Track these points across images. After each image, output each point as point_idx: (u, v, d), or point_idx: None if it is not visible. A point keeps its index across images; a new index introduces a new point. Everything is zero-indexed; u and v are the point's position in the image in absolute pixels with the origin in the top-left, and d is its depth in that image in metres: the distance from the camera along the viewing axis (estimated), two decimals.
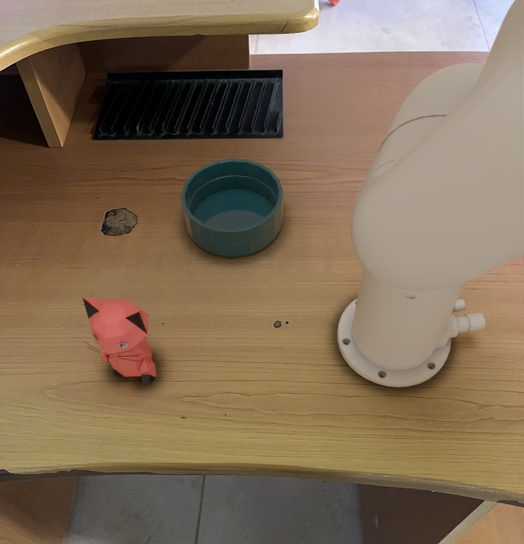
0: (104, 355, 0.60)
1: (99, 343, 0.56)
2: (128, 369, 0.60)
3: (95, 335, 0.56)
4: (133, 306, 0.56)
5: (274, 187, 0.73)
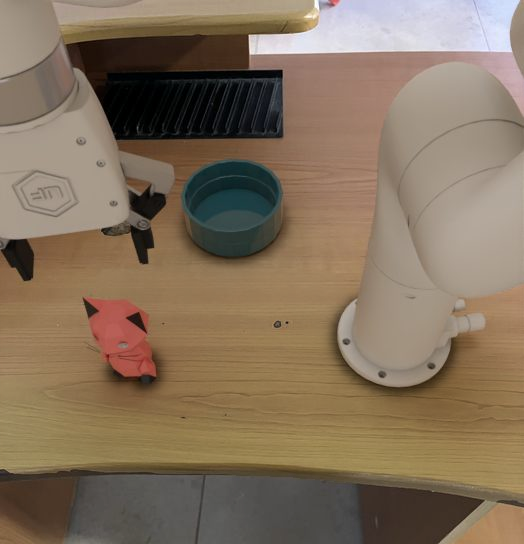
0: (104, 355, 0.60)
1: (99, 343, 0.56)
2: (128, 369, 0.60)
3: (95, 335, 0.56)
4: (133, 306, 0.56)
5: (274, 187, 0.73)
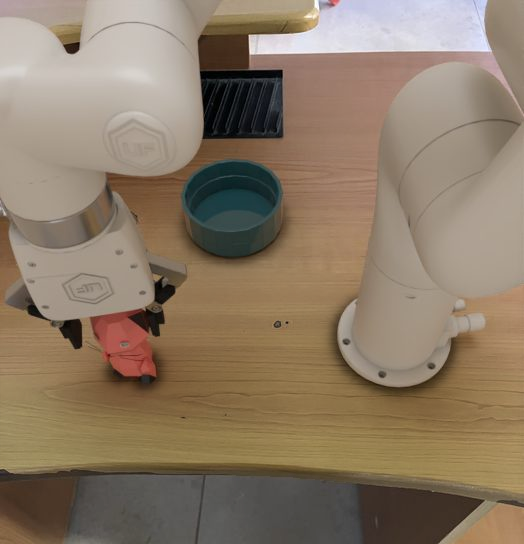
0: (104, 355, 0.60)
1: (100, 342, 0.56)
2: (128, 369, 0.60)
3: (96, 334, 0.56)
4: None
5: (274, 187, 0.73)
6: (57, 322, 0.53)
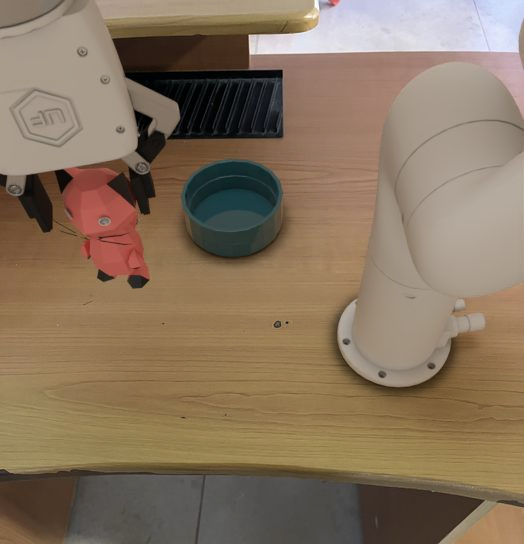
0: (84, 248, 0.49)
1: (75, 221, 0.44)
2: (113, 264, 0.48)
3: (69, 211, 0.44)
4: (117, 174, 0.44)
5: (274, 187, 0.73)
6: (15, 187, 0.41)
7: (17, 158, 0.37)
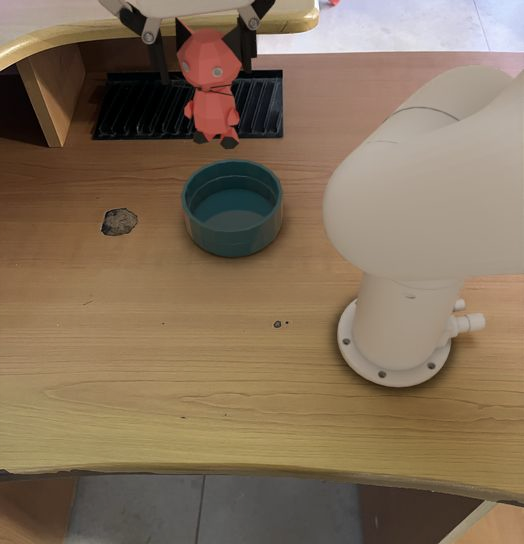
0: (188, 108, 0.57)
1: (190, 73, 0.52)
2: (214, 120, 0.56)
3: (186, 64, 0.52)
4: None
5: (274, 187, 0.73)
6: (149, 35, 0.49)
7: None
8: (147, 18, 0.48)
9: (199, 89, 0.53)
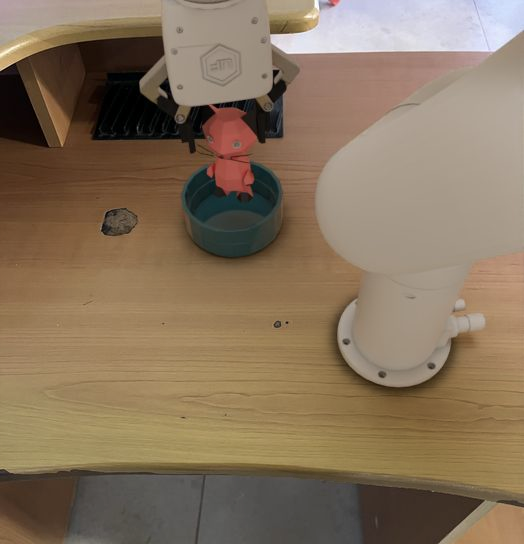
0: (210, 169, 0.67)
1: (214, 145, 0.62)
2: (233, 180, 0.66)
3: (210, 137, 0.62)
4: (244, 112, 0.62)
5: (274, 187, 0.73)
6: (180, 116, 0.59)
7: (194, 93, 0.55)
8: (180, 104, 0.58)
9: (221, 158, 0.62)
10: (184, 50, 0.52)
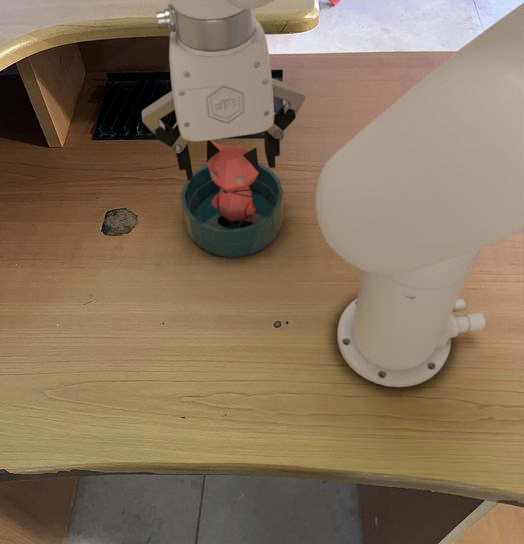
0: (215, 201, 0.71)
1: (218, 180, 0.66)
2: (236, 211, 0.70)
3: (215, 173, 0.66)
4: (246, 149, 0.66)
5: (274, 187, 0.73)
6: (178, 146, 0.62)
7: (200, 129, 0.59)
8: (180, 135, 0.61)
9: (225, 192, 0.67)
10: (191, 92, 0.55)
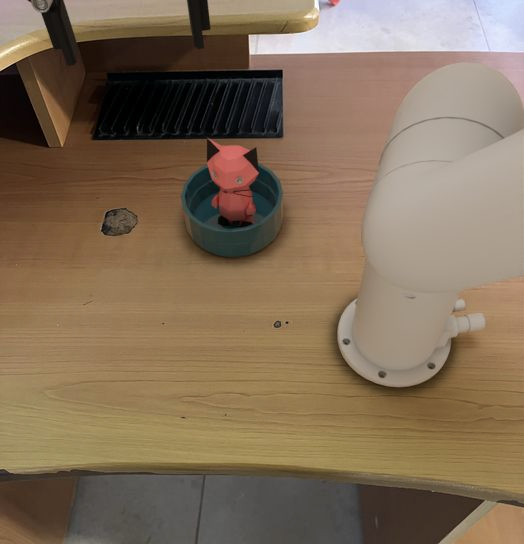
0: (215, 201, 0.71)
1: (218, 180, 0.66)
2: (236, 211, 0.70)
3: (215, 173, 0.66)
4: (246, 149, 0.66)
5: (274, 187, 0.73)
6: (41, 1, 0.39)
7: None
8: None
9: (225, 192, 0.67)
10: None
